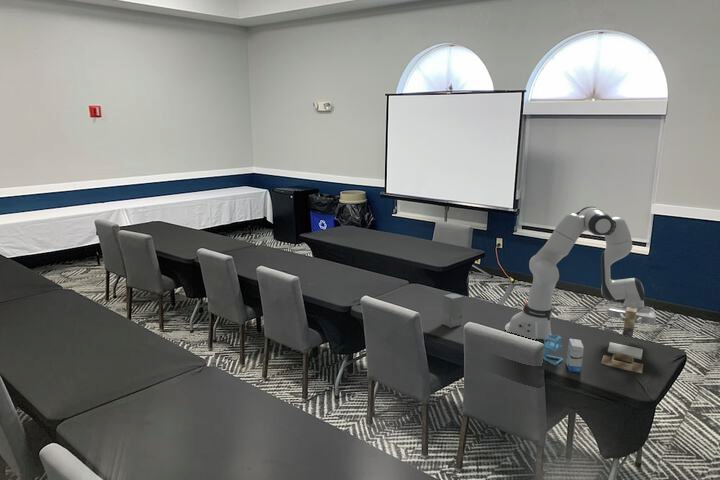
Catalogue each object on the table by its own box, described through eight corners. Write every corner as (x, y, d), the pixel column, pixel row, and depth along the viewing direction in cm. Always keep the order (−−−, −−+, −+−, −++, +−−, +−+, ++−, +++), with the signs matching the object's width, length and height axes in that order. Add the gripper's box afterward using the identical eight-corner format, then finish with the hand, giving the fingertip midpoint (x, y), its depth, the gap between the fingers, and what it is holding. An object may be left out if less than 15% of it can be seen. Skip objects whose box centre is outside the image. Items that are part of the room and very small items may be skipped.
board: (607, 351, 244) (607, 349, 244) (609, 343, 252) (610, 342, 252) (641, 359, 237) (641, 357, 237) (642, 351, 245) (642, 349, 245)
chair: (545, 354, 241) (548, 330, 238) (563, 360, 235) (566, 335, 232) (537, 359, 235) (540, 334, 232) (555, 366, 230) (558, 340, 227)
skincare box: (450, 328, 266) (452, 299, 262) (440, 323, 272) (442, 294, 268) (462, 325, 271) (464, 296, 267) (453, 320, 277) (454, 292, 273)
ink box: (581, 373, 224) (584, 347, 221) (569, 371, 225) (572, 346, 222) (577, 363, 232) (580, 339, 229) (565, 362, 233) (568, 338, 230)
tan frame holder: (600, 363, 232) (601, 357, 231) (603, 355, 240) (604, 349, 239) (641, 373, 224) (643, 367, 224) (643, 365, 232) (644, 358, 231)
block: (622, 335, 238) (626, 310, 235) (623, 331, 242) (627, 307, 239) (632, 337, 236) (636, 312, 233) (633, 333, 240) (636, 308, 237)
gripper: (609, 300, 253) (605, 309, 241) (657, 308, 243) (656, 318, 231) (607, 312, 254) (603, 322, 243) (655, 321, 244) (654, 332, 233)
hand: (629, 320), depth 237 cm, fingers closed on block, 4 cm apart
